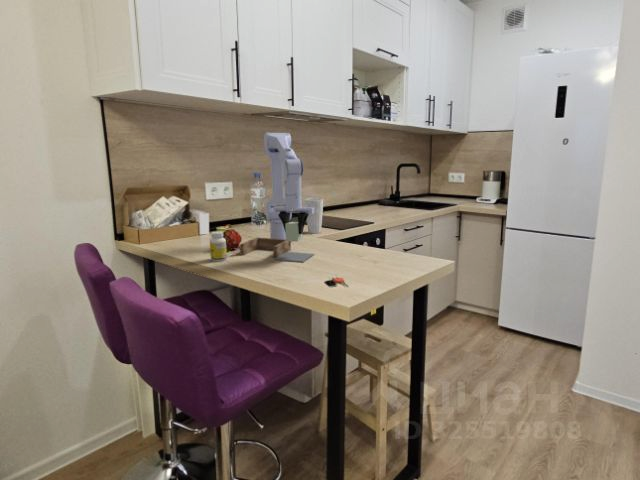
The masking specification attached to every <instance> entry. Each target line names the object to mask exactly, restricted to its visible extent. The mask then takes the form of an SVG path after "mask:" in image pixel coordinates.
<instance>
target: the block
mask: <svg viewBox="0 0 640 480" xmlns="http://www.w3.org/2000/svg"><path fill="white" fill-rule="evenodd" d="M285 227H286V241H292V242H300V241H301V240H303V233H302V234H299V224H298V221H289V223H286V224H285Z"/></svg>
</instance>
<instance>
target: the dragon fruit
mask: <svg viewBox="0 0 640 480" xmlns="http://www.w3.org/2000/svg"><path fill="white" fill-rule="evenodd" d="M222 232H223V238H225V240H226V251H231V250H232V249H234V250H236V249H237V250H238V249H239V246H240V244H241V243H242V240H243V238H242V236H241V235H240V233H239V232H238V231H237V230H235V229H234V228H232V229H226V230H225V231H222Z"/></svg>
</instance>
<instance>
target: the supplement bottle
mask: <svg viewBox="0 0 640 480" xmlns="http://www.w3.org/2000/svg"><path fill="white" fill-rule="evenodd" d="M223 232H224V231H217V230H216V231H212V232H211V233H210V235H211V236H210V237H211V238H210V239H209V247H210V249H209V250H210V260H211V261H212V262H215V263H216V262H217V263H218V262H224V261H227V259H228V256H227V254H228V253H227V250H226V240H225V238H223Z"/></svg>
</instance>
